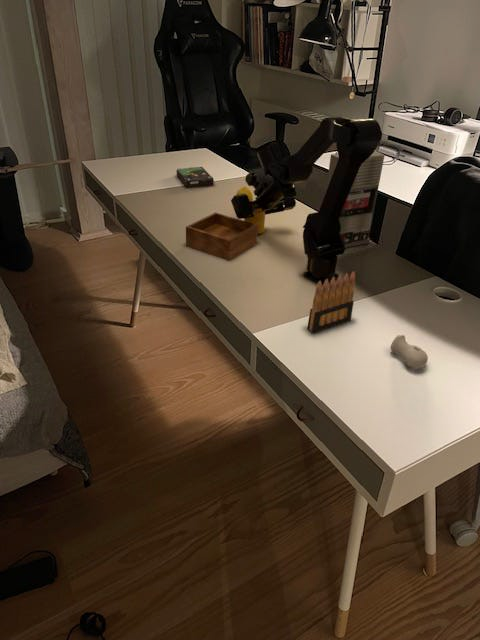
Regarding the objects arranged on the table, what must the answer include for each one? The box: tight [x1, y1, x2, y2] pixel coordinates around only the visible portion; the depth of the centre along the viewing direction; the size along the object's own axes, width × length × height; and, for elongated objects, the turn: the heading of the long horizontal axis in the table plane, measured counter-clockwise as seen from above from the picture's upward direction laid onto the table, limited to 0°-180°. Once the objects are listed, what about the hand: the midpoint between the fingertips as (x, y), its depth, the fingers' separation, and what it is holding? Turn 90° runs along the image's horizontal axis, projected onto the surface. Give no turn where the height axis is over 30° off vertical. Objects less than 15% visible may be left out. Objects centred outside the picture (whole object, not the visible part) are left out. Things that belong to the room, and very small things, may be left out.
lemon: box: [235, 186, 254, 201], centre depth 160 cm, size 6×6×8 cm
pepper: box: [243, 199, 266, 235], centre depth 147 cm, size 6×6×9 cm
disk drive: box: [175, 166, 215, 188], centre depth 185 cm, size 10×3×15 cm
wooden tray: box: [185, 212, 258, 261], centre depth 139 cm, size 15×14×6 cm
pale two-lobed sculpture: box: [390, 334, 429, 370], centre depth 98 cm, size 4×8×5 cm
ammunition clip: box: [306, 270, 356, 334], centre depth 105 cm, size 11×2×12 cm, turn 121°
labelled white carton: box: [323, 150, 386, 248], centre depth 137 cm, size 14×6×25 cm, turn 117°
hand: (252, 215), depth 148 cm, fingers closed on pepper, 6 cm apart
